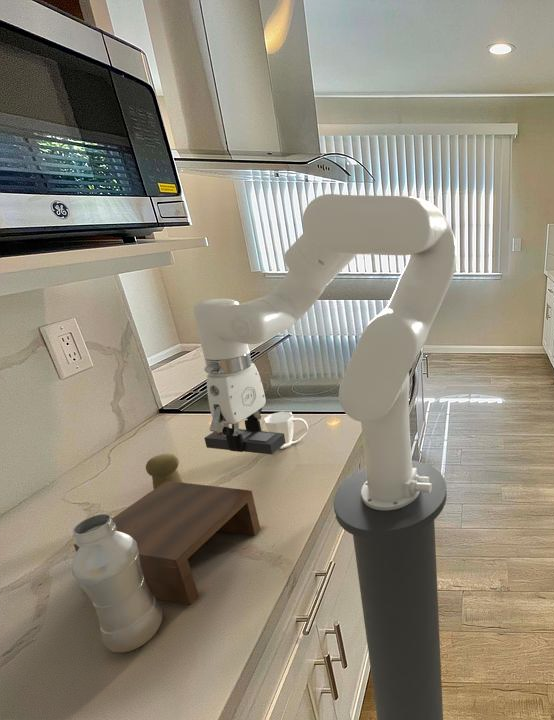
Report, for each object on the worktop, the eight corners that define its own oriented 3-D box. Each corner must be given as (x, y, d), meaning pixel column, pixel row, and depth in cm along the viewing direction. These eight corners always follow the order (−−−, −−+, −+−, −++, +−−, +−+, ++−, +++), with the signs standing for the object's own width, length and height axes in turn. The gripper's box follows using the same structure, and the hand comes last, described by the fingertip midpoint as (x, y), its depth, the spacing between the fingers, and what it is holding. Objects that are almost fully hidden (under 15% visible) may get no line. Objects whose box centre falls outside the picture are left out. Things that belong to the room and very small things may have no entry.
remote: (285, 442, 85) (283, 432, 84) (271, 454, 80) (269, 443, 79) (223, 436, 87) (220, 426, 86) (206, 447, 82) (203, 437, 82)
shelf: (260, 529, 76) (251, 490, 73) (190, 605, 61) (175, 560, 58) (178, 518, 78) (166, 480, 75) (92, 588, 63) (73, 544, 60)
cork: (162, 496, 84) (147, 452, 81) (195, 490, 86) (182, 446, 83) (151, 515, 79) (135, 468, 75) (187, 508, 81) (173, 462, 77)
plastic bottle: (170, 606, 60) (132, 499, 54) (161, 646, 55) (117, 532, 48) (116, 626, 57) (68, 515, 51) (100, 670, 52) (45, 552, 45)
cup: (272, 439, 106) (266, 412, 104) (311, 434, 109) (307, 408, 106) (266, 453, 100) (260, 425, 97) (308, 447, 103) (303, 420, 100)
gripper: (212, 380, 69) (232, 469, 75) (274, 350, 85) (287, 425, 91) (174, 377, 70) (198, 465, 76) (242, 348, 86) (257, 423, 92)
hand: (246, 443), depth 83 cm, fingers closed on remote, 4 cm apart
